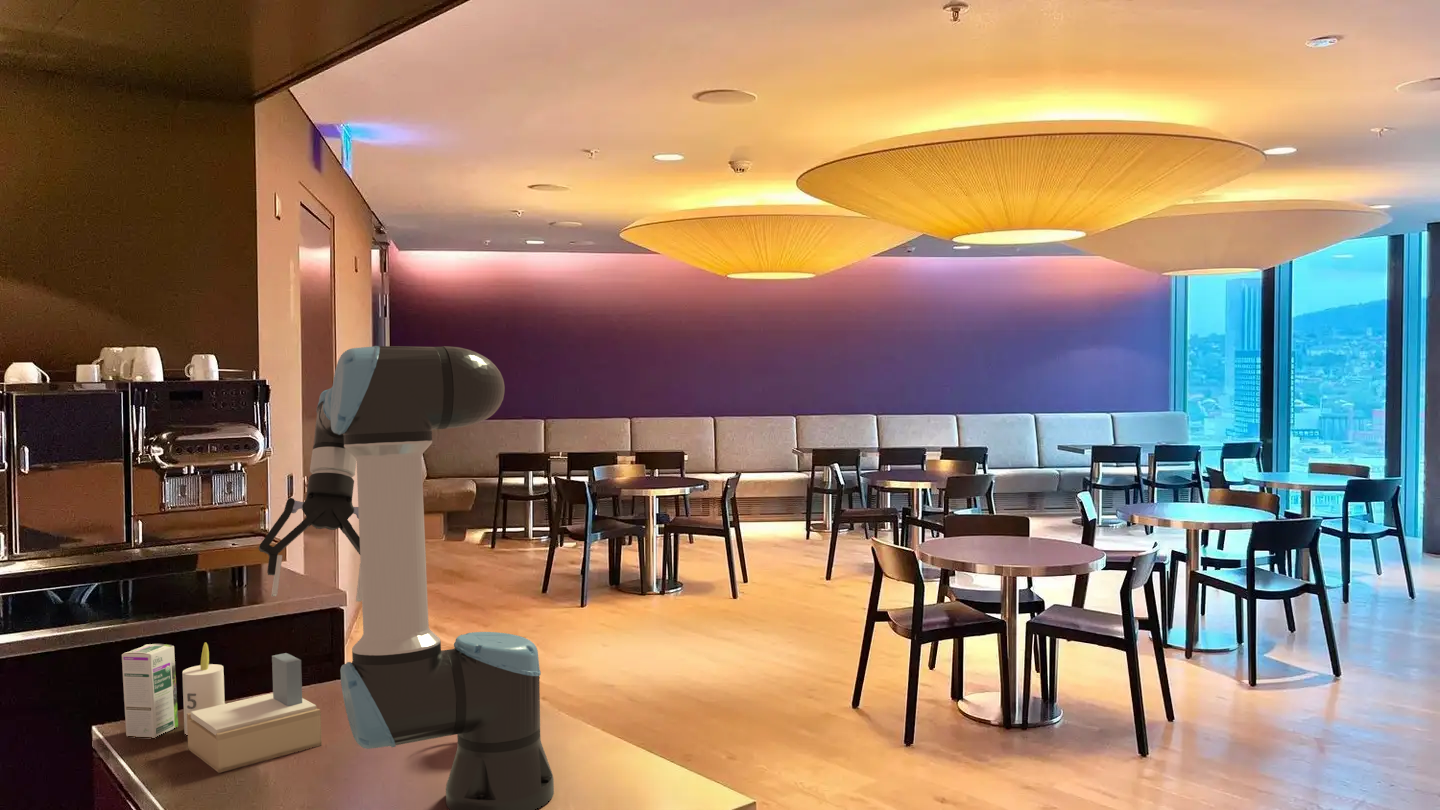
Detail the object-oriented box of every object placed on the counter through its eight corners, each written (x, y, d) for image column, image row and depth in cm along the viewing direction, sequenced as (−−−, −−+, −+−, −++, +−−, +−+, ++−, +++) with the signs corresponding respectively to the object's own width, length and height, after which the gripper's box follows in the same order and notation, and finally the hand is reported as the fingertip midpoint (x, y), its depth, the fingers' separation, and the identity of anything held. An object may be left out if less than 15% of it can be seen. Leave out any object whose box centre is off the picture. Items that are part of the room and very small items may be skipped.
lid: (287, 695, 181) (285, 648, 181) (316, 711, 173) (315, 662, 172) (190, 717, 170) (188, 667, 170) (216, 736, 162) (214, 683, 162)
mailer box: (286, 724, 182) (285, 690, 182) (321, 745, 172) (320, 709, 172) (188, 749, 171) (186, 713, 171) (219, 773, 161) (217, 734, 161)
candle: (175, 736, 177) (172, 648, 177) (200, 723, 184) (197, 637, 183) (209, 738, 176) (206, 649, 176) (233, 724, 183) (230, 639, 182)
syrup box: (154, 739, 176) (151, 653, 175) (124, 737, 177) (120, 651, 177) (179, 727, 182) (175, 644, 181) (149, 725, 183) (145, 642, 182)
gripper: (400, 488, 194) (389, 605, 187) (253, 473, 183) (235, 596, 176) (408, 479, 187) (397, 599, 180) (256, 462, 177) (238, 589, 170)
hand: (317, 598), depth 178 cm, fingers open, 13 cm apart
